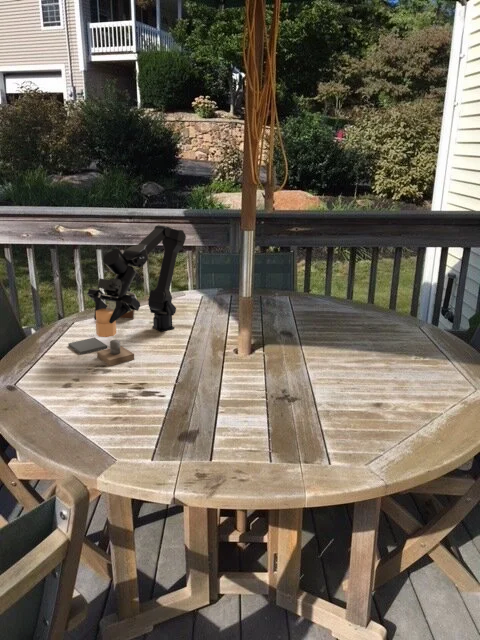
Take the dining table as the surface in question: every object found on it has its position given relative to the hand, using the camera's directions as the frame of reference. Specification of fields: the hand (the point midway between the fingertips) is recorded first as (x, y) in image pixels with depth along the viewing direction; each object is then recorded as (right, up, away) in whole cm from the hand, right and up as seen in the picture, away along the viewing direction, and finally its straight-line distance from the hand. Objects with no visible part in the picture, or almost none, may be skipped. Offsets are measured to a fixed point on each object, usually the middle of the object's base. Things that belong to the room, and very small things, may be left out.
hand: (102, 321), depth 177 cm
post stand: (+3, -12, +4) cm, 13 cm away
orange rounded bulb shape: (+1, -4, +3) cm, 5 cm away
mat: (-9, -9, +13) cm, 18 cm away
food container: (-3, +2, +46) cm, 46 cm away
